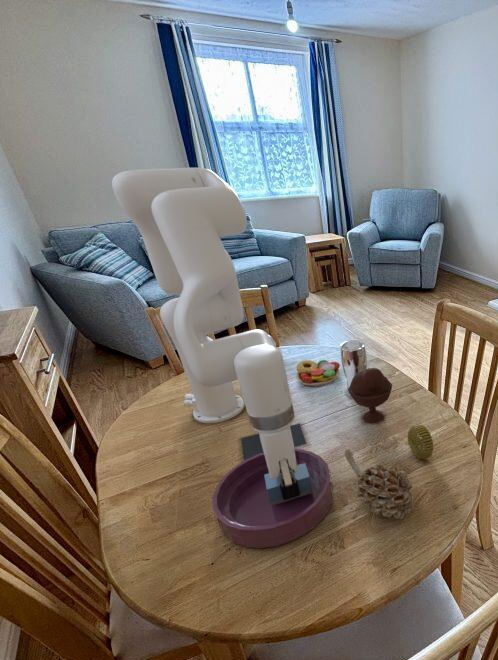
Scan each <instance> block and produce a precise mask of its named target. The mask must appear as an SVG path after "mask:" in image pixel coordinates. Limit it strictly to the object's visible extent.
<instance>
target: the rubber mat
mask: <svg viewBox="0 0 498 660" xmlns="http://www.w3.org/2000/svg"><path fill="white" fill-rule="evenodd" d="M290 429H291V433H292V438H293V444H294V448H296V447H300V446H305V445H307V440H306V438H305V435H304V431H303V429H302V425H301V424H300V423H295V424H291V425H290ZM240 441H241V447H242V456H243V457H242V458H243V461H245V460H246V459H248V458H250V457H253V456H255V455H257V454H260V453H263V448H262V444H261V440H260V435H259V433H256V434H252V435H248V436H245V437H241V438H240Z"/></svg>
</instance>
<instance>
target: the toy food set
mask: <svg viewBox="0 0 498 660" xmlns="http://www.w3.org/2000/svg"><path fill="white" fill-rule="evenodd" d="M340 367H341V365H340V363H339V362H337V361H331V362H329V360H326V359H321V360H319V361H318V362H316V361H313V360H310V359H305V360H301V361H299V362H298V363H297V364H296V365H295V370H296V372H297V373H296V376H295V379H296V380H297V381H298V382H299V383H301V384H302V385H305V386H308V387H319V386H325V385H328V384H330V383H332V382H333V381H334V380H336V379H337V378H338V377H339V374H340Z"/></svg>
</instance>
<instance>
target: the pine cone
mask: <svg viewBox="0 0 498 660" xmlns="http://www.w3.org/2000/svg"><path fill="white" fill-rule="evenodd" d="M353 454H354V453H353V452H352V451H351V450H350V449H349V447H347V448H346V449H345V452H344V456H345V459H346V460H347V461H348V464H349V466H350V467H351V469H352V470H353V472H354V473H355V475H356V477H357V479H355V482H357V486H356V490H355V492H354V493H355V494H356V498H357V499H361V503H362V505H364V506H365V507H366V508H367V509H368V508H369V507H371V512H372V513H374V514H376V515H378V514H382V516H383V518H386V517H387V518H391V517H392V516H393V518H395V519H403V518H404V516H405V514H408V515H409V514H410V513H411V512H412V511H413V510H414V509H415V505H414V494H412V493H411V491H412V490H413V489H415V488H414V486H413V481H412V480H410V479H409V474H407V473H405V471H403V470H401V471H399V468H398V465H389V466H387V467H385V465H384V464H383V463H381V464H380V463H377V464H376V465H375V466H369V467H367V468H366V469H365V470H363V471H362V470H361V469H360V467H359V466H358V464H357V463H356V461H355V458H354V456H353Z"/></svg>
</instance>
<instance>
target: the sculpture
mask: <svg viewBox="0 0 498 660" xmlns="http://www.w3.org/2000/svg"><path fill="white" fill-rule="evenodd" d="M407 443H408V446H409V448H410V450H411V452H412V454H413V455H414V457H416V458H417V459H419V460H425V459H428V458H430V457H431V456H432V455H433V453H434V440H433V437H432V435H431V433H430V431H429V430H428V428H427V427H426V426H424V425H422V424H414V425H412V426H410V428H409V430H408V432H407Z"/></svg>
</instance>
